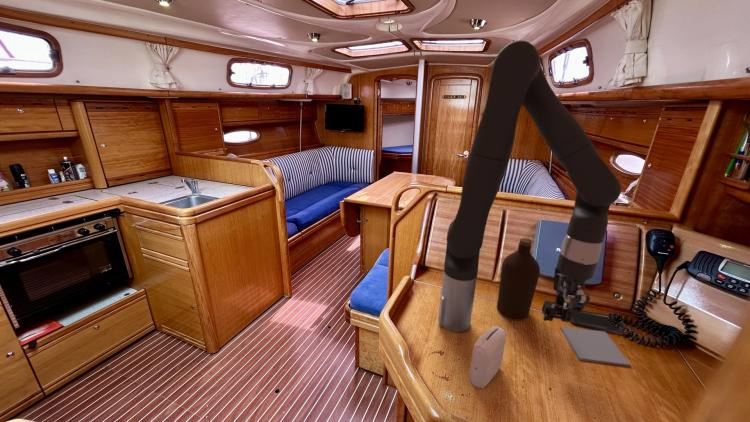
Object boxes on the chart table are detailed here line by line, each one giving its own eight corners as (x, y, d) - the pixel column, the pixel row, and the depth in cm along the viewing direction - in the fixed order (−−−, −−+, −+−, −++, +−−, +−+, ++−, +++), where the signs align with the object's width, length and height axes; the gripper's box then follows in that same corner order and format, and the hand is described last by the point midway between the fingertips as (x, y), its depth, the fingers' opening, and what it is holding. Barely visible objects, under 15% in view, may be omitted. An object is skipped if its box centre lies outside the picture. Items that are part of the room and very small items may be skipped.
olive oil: (520, 326, 90) (536, 251, 82) (488, 309, 98) (499, 238, 90) (536, 312, 96) (552, 241, 88) (505, 296, 104) (517, 230, 96)
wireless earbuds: (537, 310, 79) (540, 299, 78) (567, 314, 78) (570, 303, 77) (543, 322, 75) (546, 311, 74) (574, 326, 74) (578, 315, 72)
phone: (565, 307, 98) (620, 317, 94) (564, 310, 98) (619, 320, 94) (571, 322, 91) (631, 334, 86) (571, 325, 91) (630, 337, 87)
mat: (578, 359, 79) (579, 357, 78) (560, 328, 90) (560, 326, 90) (630, 366, 77) (630, 364, 76) (604, 333, 88) (605, 331, 88)
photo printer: (482, 392, 69) (490, 350, 65) (466, 380, 72) (472, 339, 68) (502, 367, 76) (510, 327, 72) (486, 357, 79) (493, 318, 75)
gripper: (550, 240, 78) (536, 296, 83) (575, 268, 64) (556, 332, 70) (582, 243, 77) (565, 300, 82) (613, 272, 63) (591, 337, 69)
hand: (561, 314), depth 76 cm, fingers closed on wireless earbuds, 3 cm apart
